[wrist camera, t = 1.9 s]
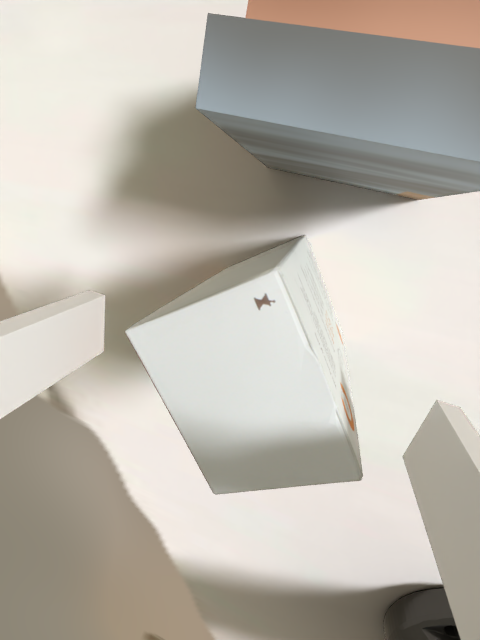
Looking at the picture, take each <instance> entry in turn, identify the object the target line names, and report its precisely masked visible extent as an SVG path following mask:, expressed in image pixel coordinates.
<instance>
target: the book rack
mask: <svg viewBox="0 0 480 640" xmlns="http://www.w3.org/2000/svg"><path fill="white" fill-rule="evenodd" d="M196 109H197V110H198V111H200V112H201V113H202V114H203V115H205V116H206V117H207V118H208V119H209V120H211V121H212V122H213V123H214V124H216V125H217V126H218V127H219V128H220V129H222V130H223V131H224V132H225V133H227V134H228V135H229V136H230V137H231V138H233V139H234V140H235V141H236V142H238V143H239V144H240V145H241V146H242V147H244V148H245V149H246V150H247V151H249V152H250V153H251V154H252V155H253V156H255V157H256V158H257V159H258V160H260V161H261V162H262V163H263V164H264V165H266V166H267V167H268V168H273V169H277V170H282V171H287V172H291V173H296V174H301V175H305V176H310V177H315V178H319V179H324V180H329V181H333V182H338V183H343V184H347V185H352V186H356V187H361V188H366V189H370V190H375V191H380V192H384V193H389V194H394V195H398V196H403V197H408V198H412V199H417V200H421V199H428V198H435V197H442V196H449V195H456V194H463V193H470V192H477V191H480V0H249V1H248V7H247V12H246V18H241V17H234V16H226V15H218V14H210V13H208V16H207V24H206V32H205V40H204V47H203V55H202V63H201V70H200V78H199V86H198V94H197V101H196Z"/></svg>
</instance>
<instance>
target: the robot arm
mask: <svg viewBox="0 0 480 640" xmlns="http://www.w3.org/2000/svg"><path fill="white" fill-rule="evenodd" d="M104 327H105V295H104V294H100V293H97V292H94V291H91V290H88V291H85V292H82V293H79V294H77V295H74V296H71V297H68V298H65V299H62V300H59V301H57V302H54V303H51V304H48V305H45V306H42V307H40V308H37V309H34V310H31V311H28V312H25V313H22V314H20V315H17V316H14V317H11V318H8V319H5V320H2V321H0V419H1V418H3V417H4V416H5V415H7V414H9V413H10V412H12V411H13V410H15V409H16V408H18V407H19V406H21V405H22V404H24V403H26V402H27V401H29V400H30V399H32V398H33V397H35V396H36V395H38V394H39V393H41V392H42V391H44V390H46V389H47V388H49V387H50V386H52V385H53V384H55V383H56V382H58V381H59V380H61V379H62V378H64V377H65V376H67V375H69V374H70V373H72V372H73V371H75V370H76V369H78V368H79V367H81V366H82V365H84V364H85V363H87V362H88V361H90V360H92V359H93V358H95V357H96V356H98V355H99V354H101V353H102V352H104ZM403 459H404V462H405V466H406V469H407V472H408V475H409V478H410V481H411V484H412V488H413V491H414V494H415V497H416V500H417V503H418V507H419V510H420V513H421V516H422V519H423V522H424V525H425V529H426V532H427V535H428V538H429V541H430V544H431V548H432V551H433V554H434V557H435V560H436V563H437V566H438V570H439V573H440V576H441V579H442V582H443V585H444V588H441V589H430V590H424V591H419V592H415V593H412V594H409V595H407V596H405V597H403V598H401V599H399V600H398V601H396V602H395V603H394V604H393V605H392V606H391V607H390V608H389V609H388V611H387V612H386V614H385V617H384V633H385V640H480V435H479V434H478V432H477V431H476V430H475V428H474V427H473V425H472V424H471V422H470V421H469V419H468V418H467V416H466V415H465V413H464V412H463V411H462V409H461V408H460V407H458V406H455V405H452V404H448V403H445V402H442V401H439V400H436V402H435V403H434V405H433V407H432V408H431V410H430V412H429V413H428V415H427V417H426V418H425V420H424V422H423V423H422V425H421V427H420V428H419V430H418V432H417V433H416V435H415V437H414V438H413V440H412V442H411V443H410V445H409V447H408V448H407V450H406V452H405V453H404V455H403Z"/></svg>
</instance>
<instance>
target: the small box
mask: <svg viewBox="0 0 480 640" xmlns="http://www.w3.org/2000/svg"><path fill="white" fill-rule="evenodd" d="M125 333H126V335H127V337H128V339H129V341H130V342H131V344H132V346H133V347H134V349H135V351H136V353H137V355H138V357H139V358H140V360H141V362H142V364H143V366H144V368H145V369H146V371H147V373H148V375H149V376H150V378H151V380H152V382H153V384H154V386H155V388H156V389H157V391H158V393H159V395H160V397H161V398H162V400H163V402H164V404H165V406H166V408H167V409H168V411H169V413H170V415H171V417H172V418H173V420H174V422H175V424H176V426H177V428H178V429H179V431H180V433H181V435H182V436H183V438H184V440H185V442H186V444H187V446H188V448H189V449H190V451H191V453H192V455H193V457H194V459H195V460H196V462H197V464H198V466H199V468H200V470H201V471H202V473H203V475H204V477H205V479H206V481H207V482H208V484H209V486H210V488H211V490H212V492H213V493H214V494H226V493H237V492H245V491H256V490H266V489H277V488H287V487H296V486H307V485H317V484H327V483H338V482H350V481H360V480H361V479H362V477H363V473H362V465H361V457H360V449H359V442H358V434H357V428H356V421H355V414H354V407H353V399H352V392H351V385H350V377H349V372H348V365H347V358H346V350H345V342H344V335H343V332H342V329H341V326H340V323H339V320H338V318H337V315H336V312H335V309H334V307H333V304H332V301H331V299H330V296H329V293H328V291H327V288H326V285H325V282H324V280H323V277H322V274H321V272H320V269H319V266H318V264H317V261H316V258H315V256H314V253H313V251H312V248H311V246H310V243H309V241H308V238H307V236H306V235H303V236H301V237H299V238H296V239H294V240H292V241H289V242H287V243H285V244H282V245H280V246H278V247H275V248H273V249H270V250H268V251H266V252H263V253H261V254H259V255H256V256H254V257H252V258H249V259H247V260H244V261H242V262H240V263H237V264H235V265H233V266H231V267H228V268H226V269H225V270H223V271H221V272H220V273H218V274H216V275H214V276H212V277H211V278H209V279H207V280H206V281H204V282H202V283H201V284H199V285H198V286H196V287H194V288H193V289H191V290H190V291H188V292H186V293H184V294H183V295H181V296H179V297H178V298H176V299H174V300H173V301H171V302H169V303H168V304H166V305H164V306H163V307H161V308H159V309H158V310H156V311H154V312H153V313H151V314H150V315H148V316H146V317H145V318H143V319H142V320H140V321H139V322H137V323H135V324H134V325H132V326H131V327H129V328H128V329H127V330H125Z"/></svg>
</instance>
